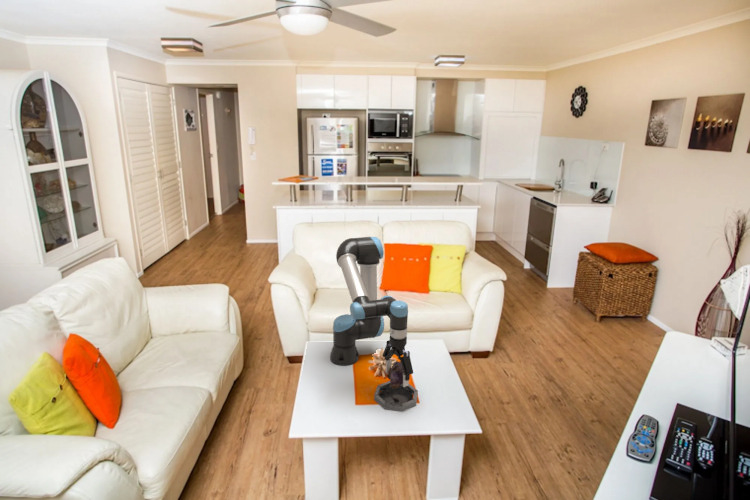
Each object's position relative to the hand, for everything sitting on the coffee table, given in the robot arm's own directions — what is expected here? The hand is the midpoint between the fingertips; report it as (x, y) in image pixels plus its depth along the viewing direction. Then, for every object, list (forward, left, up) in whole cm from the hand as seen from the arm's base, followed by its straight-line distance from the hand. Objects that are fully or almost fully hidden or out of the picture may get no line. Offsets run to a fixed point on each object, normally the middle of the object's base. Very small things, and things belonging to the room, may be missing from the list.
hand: (396, 379), depth 200 cm
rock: (+1, 0, -2) cm, 2 cm away
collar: (0, 0, -10) cm, 10 cm away
